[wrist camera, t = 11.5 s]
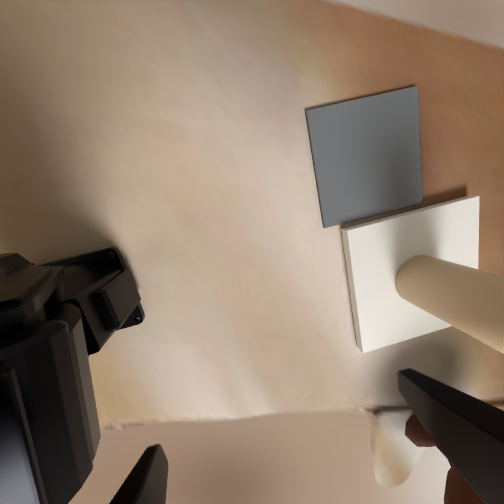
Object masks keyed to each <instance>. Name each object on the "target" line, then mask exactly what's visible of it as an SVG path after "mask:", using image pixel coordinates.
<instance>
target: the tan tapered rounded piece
mask: <svg viewBox="0 0 504 504" xmlns="http://www.w3.org/2000/svg"><path fill="white" fill-rule="evenodd" d="M395 286H396V290H397V293H398V294H399V296H400V297H401V298H402V299H404V300H406V301H408V302H410V303H411V304H413V305H415V306H417V307H419V308H421V309H422V310H424V311H426V312H428V313H430V314H432V315H433V316H435V317H437V318H439V319H441V320H443V321H445V322H446V323H448V324H450V325H452V326H454V327H456V328H457V329H459V330H461V331H463V332H465V333H467V334H468V335H470V336H472V337H474V338H476V339H478V340H480V341H481V342H483V343H485V344H487V345H489V346H491V347H492V348H494V349H496V350H498V351H500V352H502V353H503V354H504V276H501V275H497V274H493V273H490V272H486V271H482V270H479V269H475V268H471V267H468V266H464V265H460V264H457V263H453V262H449V261H446V260H442V259H438V258H435V257H431V256H427V255H418V256H415V257H412V258H410V259H409V260H407V261H406V262H405V263H404V264H403V265H402V266H401V268H400V269H399V271H398V273H397V276H396V281H395Z"/></svg>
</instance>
